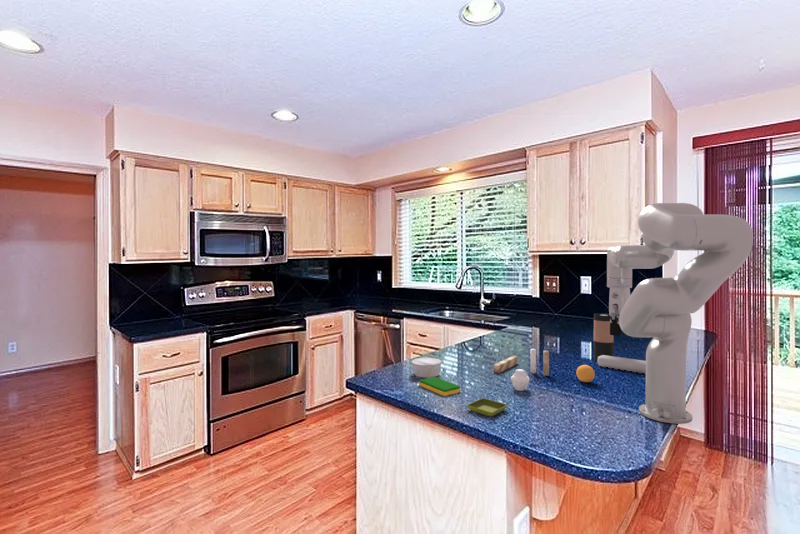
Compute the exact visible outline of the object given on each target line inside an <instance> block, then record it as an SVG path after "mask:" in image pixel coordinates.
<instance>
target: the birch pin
mask: <svg viewBox="0 0 800 534" xmlns="http://www.w3.org/2000/svg"><path fill="white" fill-rule="evenodd" d="M542 357H543V358H542V359H543V360H542V361H543V362H542V363H543V365H542V370H543V371H542V375H543V376H545V377H546V376H550V351H549V350H543V356H542Z"/></svg>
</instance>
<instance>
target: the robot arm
mask: <svg viewBox="0 0 800 534" xmlns="http://www.w3.org/2000/svg"><path fill="white" fill-rule="evenodd" d="M637 221H638V222H637V223H638V228H639V231H640V232H641V233H642V234H641V235H642V236H641V237H642V241H643V243H644V244H643V245H642V244H641V245H639V244H637V245H636V244H635V245H632V244H631V245H626V244H625V245H619V246H610V247H609V248H607V252H606V256H607V257H606V287H607V288H609V293H608V294H609V297H608V298H609V299H608V300H609V301H608V312H609V313H608V314H609V315H610V316H611V317H610V318H611V319H610V335H614V336H616V337H621V336H622V332H623V333H624V334H625V335H626V336H629V337H631V338H652V339H651V340H650V341H649V343H648V345H647V347H646V351H645V361H646V374H645V395H644V396H645V403H643V404H641V405H639V407H638V412H639V413H640V414H641V415H642V416H643V417H646V418H648V419H650V420H654V421H657V422H660V423H665V424H673V425H674V424H675V425H684V424H689V423H691V422H692V421H693V415H692V413H690V412H689V411H687V410H686V404H687V403H686V402H687V399H686V396H687V355H688V354H687V353H688V351H687V350H688V342H689V341H688V340H689V336H690V331H691V328H692V320H693V319H692V315H691V314H694V313H696V312H699V310H701V309H702V307H703V306H704V305H705V304H706V303H707V302H708V300H710V298H711V297H712V296H713V295H714V294H715V293H716V292H717V291H718V290H719V288H720V287H721V286H722V285H723V284H724V282H726V281H727V280H728V279H729V278H730V277H731V276H732V275H734V273H736V272H737V271H738V270H739V268H741V267H742V266H743V265H744V263H745V262H746V261H747V260H748V257H749V256H750V254H751V251H752V248H753V243H754V232H753V229H752V226H751V224H750V222H748V221H747V220H745V219H744V218H741V217H739V216H736V215H730V214H723V213H722V214H716V213H714V214H710V213H709V214H708V213H707V214H704V212H703V211H702V209H701V208H699V207H698V206H697V205H695V204H692V203H687V202H679V203H678V202H667V203H666V202H660V203H659V202H658V203H657V202H656V203H652V204H648V205H646V206H645V207H644V208H643V209H642V210H641V211H640V214H639V216H638V220H637ZM675 251H682V252H683V251H704V252H703V253H701V254H699V255H698V256H697V255H696V257H694V258H692V259H691V260H690V261H688V262H687V263H686V264H685V265H684V266H683V268H682V269H681V271H680V272H679V273H678V274H677V275H675V276H673V277H654V278H653V277H651V278H646V279H643V280H642V281H640V282H639V283H638V284H637V285H636V287H635V288H634V289H633V291H632V292H631V289H632V288H633V270H635V269H638V270H639V269H640V270H641V269H644V270H646V269H650V270H651V269H656V268H659V267H661V266H662V265H665V264H666V263H668V262H669V261H670V260H671V259H672V257H673V255H674V252H675Z"/></svg>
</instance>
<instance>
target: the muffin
mask: <svg viewBox="0 0 800 534" xmlns="http://www.w3.org/2000/svg"><path fill="white" fill-rule="evenodd" d="M530 380H531V379H530V377H529V376H528V375H527V372H526V370H525V369H523V368H517V369H515V371H514V372H513V375H512V376H511V377H510V381H511V383H512V385H513V387H514V389H515V390H516V391H521V392H524V391H526V389H527V388H528V385H529V384H530Z"/></svg>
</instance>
